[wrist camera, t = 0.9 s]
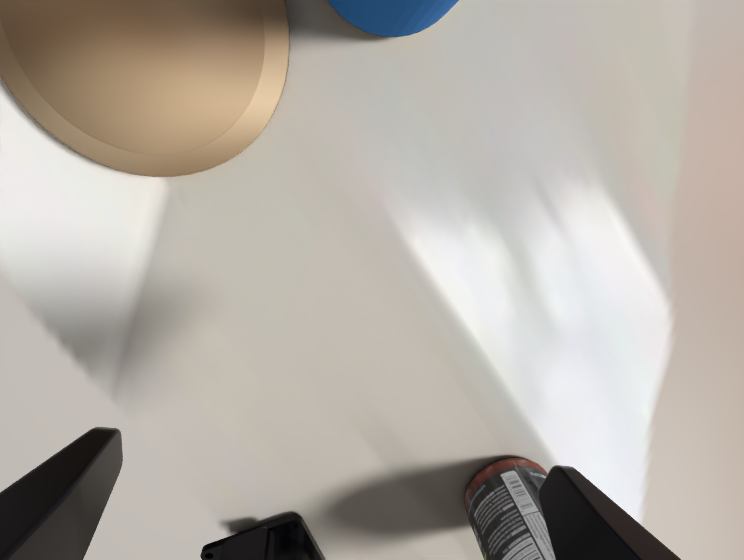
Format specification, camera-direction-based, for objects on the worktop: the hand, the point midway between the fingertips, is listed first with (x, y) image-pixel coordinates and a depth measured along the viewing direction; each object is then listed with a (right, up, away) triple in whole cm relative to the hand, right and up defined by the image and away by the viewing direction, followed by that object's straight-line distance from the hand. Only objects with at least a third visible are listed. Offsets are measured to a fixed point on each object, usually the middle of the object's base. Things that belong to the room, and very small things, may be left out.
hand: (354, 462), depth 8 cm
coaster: (-8, +14, +7) cm, 17 cm away
